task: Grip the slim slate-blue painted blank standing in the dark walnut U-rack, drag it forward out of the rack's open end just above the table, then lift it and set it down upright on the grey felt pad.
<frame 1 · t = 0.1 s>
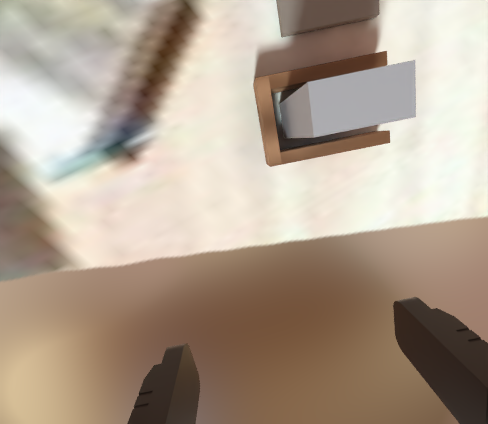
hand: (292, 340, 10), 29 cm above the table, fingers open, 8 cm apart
rack: (321, 113, 35), on the table
blank: (313, 115, 35), resting in rack
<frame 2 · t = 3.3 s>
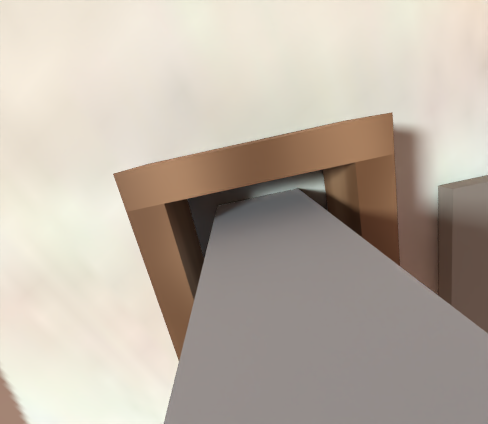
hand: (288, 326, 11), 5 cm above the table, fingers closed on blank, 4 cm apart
rack: (274, 284, 16), on the table
blank: (272, 269, 15), resting in rack, touching gripper
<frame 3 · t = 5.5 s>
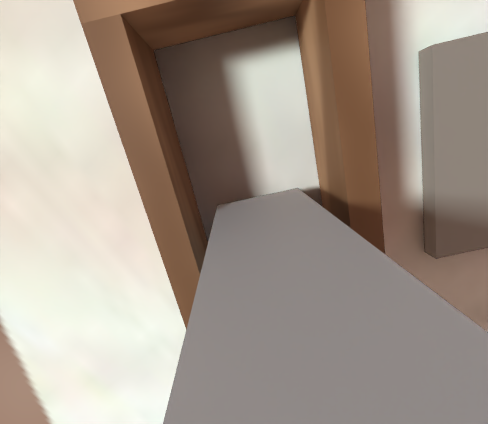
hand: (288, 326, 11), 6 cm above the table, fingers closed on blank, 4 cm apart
rack: (252, 167, 15), on the table
blank: (272, 268, 15), point 1 cm above the table, touching gripper
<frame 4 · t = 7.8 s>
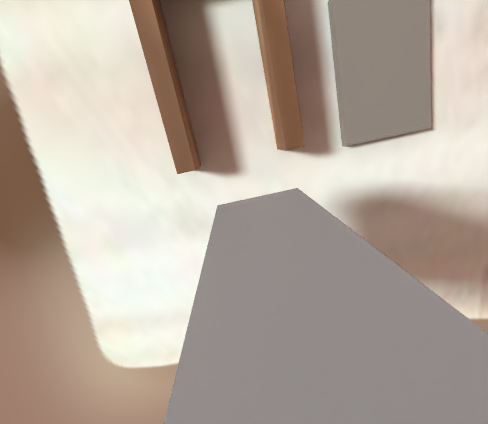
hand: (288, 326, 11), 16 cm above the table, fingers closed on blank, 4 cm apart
pad: (378, 69, 23), on the table
rack: (222, 78, 23), on the table
blank: (272, 268, 15), point 11 cm above the table, touching gripper
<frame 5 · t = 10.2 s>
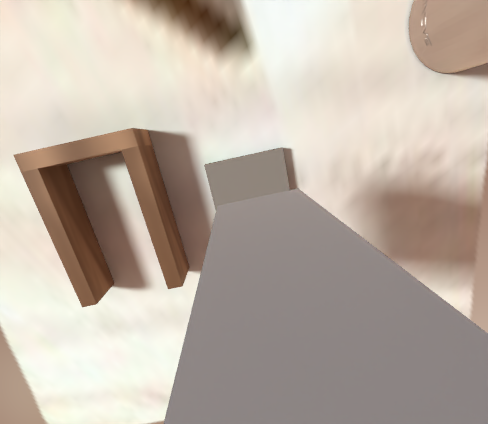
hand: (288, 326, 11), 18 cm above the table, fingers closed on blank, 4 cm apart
pad: (254, 210, 28), on the table
rack: (125, 220, 28), on the table
blank: (272, 269, 15), point 13 cm above the table, touching gripper
when the fingers open (7 cm above the table, at t = 12.5 s): blank stays where it is, resting on pad.
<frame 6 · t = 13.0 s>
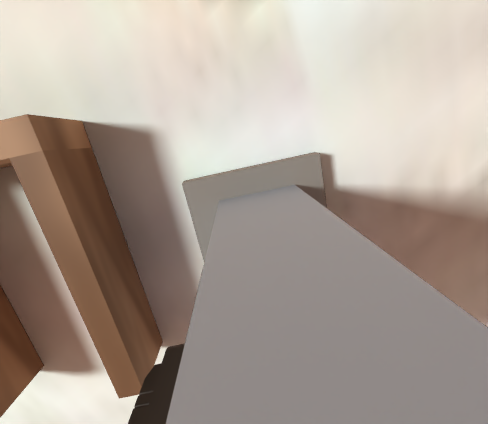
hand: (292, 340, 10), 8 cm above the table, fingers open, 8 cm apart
pad: (267, 255, 17), on the table
rack: (53, 271, 17), on the table
blank: (270, 261, 16), point 1 cm above the table, touching pad
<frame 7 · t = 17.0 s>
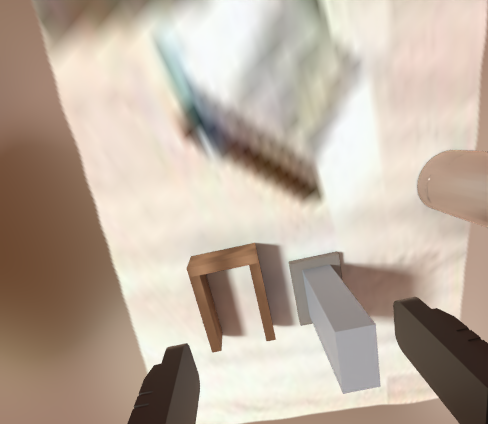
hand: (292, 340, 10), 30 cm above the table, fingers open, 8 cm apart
pad: (317, 288, 44), on the table
rack: (234, 294, 44), on the table
blank: (319, 291, 43), point 1 cm above the table, touching pad
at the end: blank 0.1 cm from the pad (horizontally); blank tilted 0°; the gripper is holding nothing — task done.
